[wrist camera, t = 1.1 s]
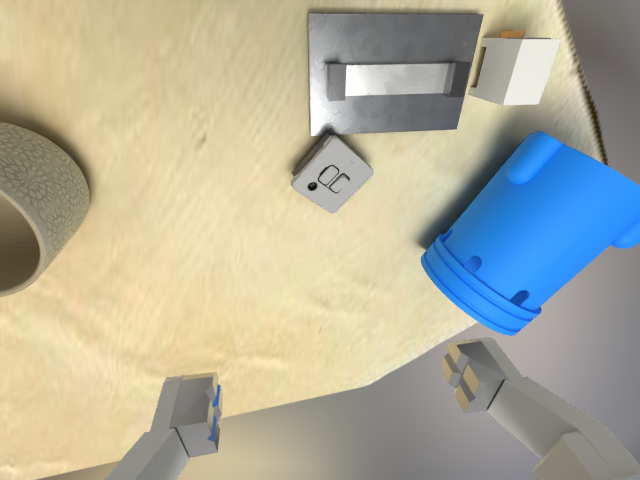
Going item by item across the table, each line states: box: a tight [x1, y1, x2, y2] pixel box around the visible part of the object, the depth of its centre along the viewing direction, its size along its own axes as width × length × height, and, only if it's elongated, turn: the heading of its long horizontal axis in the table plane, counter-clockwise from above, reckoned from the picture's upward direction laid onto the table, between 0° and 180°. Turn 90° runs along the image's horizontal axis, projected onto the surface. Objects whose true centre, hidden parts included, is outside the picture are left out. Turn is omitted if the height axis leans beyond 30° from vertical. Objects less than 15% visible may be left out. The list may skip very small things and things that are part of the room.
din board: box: [308, 13, 484, 136], centre depth 41 cm, size 14×22×4 cm, turn 90°
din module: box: [468, 31, 562, 105], centre depth 41 cm, size 8×5×8 cm, turn 0°
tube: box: [421, 131, 640, 336], centre depth 50 cm, size 25×22×19 cm
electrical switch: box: [291, 133, 373, 213], centre depth 47 cm, size 9×5×9 cm
